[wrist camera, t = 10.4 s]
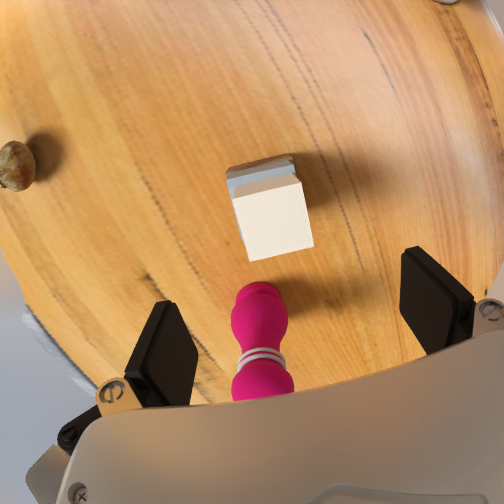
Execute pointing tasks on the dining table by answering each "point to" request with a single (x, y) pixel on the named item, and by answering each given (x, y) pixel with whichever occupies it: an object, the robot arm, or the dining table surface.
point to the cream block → (272, 216)
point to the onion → (16, 166)
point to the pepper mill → (260, 343)
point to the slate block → (257, 176)
